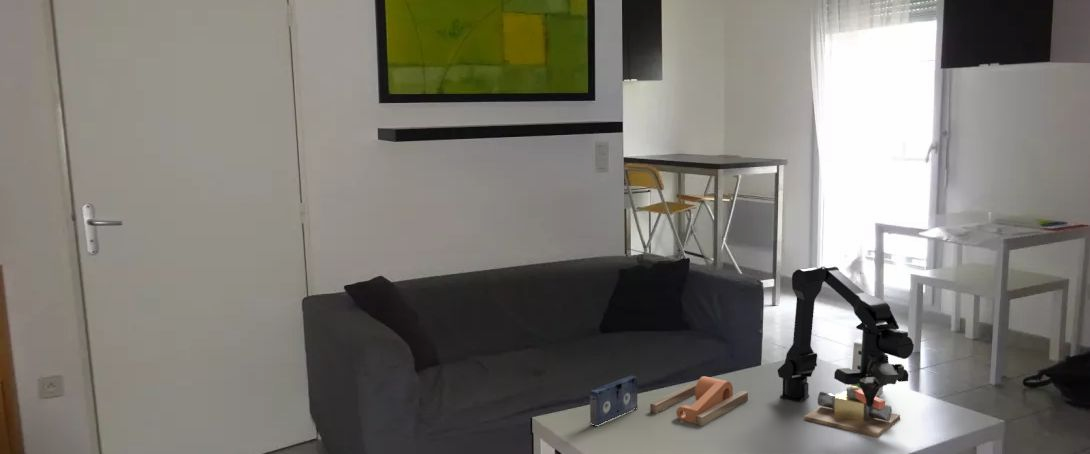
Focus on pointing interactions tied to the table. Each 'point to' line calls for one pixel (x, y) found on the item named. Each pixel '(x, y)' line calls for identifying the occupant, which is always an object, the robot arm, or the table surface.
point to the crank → (706, 397)
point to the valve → (852, 407)
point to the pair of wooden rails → (705, 415)
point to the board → (851, 422)
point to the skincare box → (859, 361)
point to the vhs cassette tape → (613, 400)
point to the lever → (858, 394)
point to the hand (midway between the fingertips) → (869, 406)
